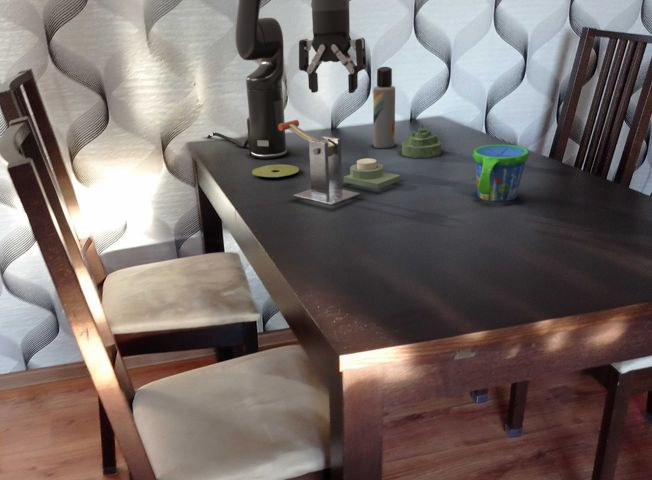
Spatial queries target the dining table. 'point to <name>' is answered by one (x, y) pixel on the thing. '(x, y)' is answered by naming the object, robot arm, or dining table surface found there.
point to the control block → (371, 177)
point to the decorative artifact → (421, 144)
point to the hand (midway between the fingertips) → (333, 92)
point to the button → (366, 164)
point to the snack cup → (499, 171)
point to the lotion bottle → (384, 109)
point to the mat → (275, 170)
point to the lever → (303, 134)
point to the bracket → (326, 174)
